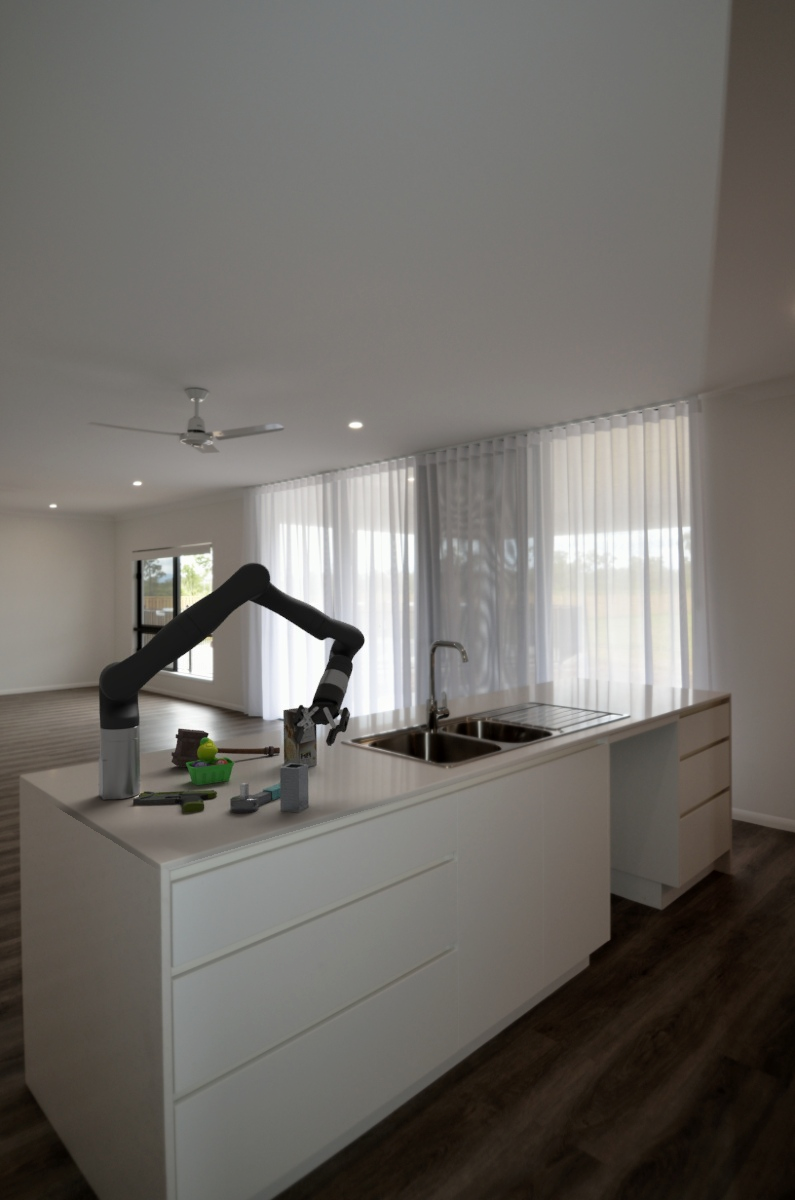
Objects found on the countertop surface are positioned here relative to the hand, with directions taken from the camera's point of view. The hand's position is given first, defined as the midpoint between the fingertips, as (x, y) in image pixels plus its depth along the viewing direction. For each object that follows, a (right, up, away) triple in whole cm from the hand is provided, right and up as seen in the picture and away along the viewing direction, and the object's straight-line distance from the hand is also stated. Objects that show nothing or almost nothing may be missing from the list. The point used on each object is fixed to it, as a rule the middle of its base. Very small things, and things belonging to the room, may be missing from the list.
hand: (312, 743), depth 170 cm
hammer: (-30, -14, +38) cm, 51 cm away
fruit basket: (-30, -14, +16) cm, 37 cm away
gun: (-33, -14, -5) cm, 36 cm away
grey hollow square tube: (-3, -13, -10) cm, 17 cm away
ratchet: (-12, -13, -4) cm, 18 cm away
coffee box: (-8, -14, +34) cm, 37 cm away
